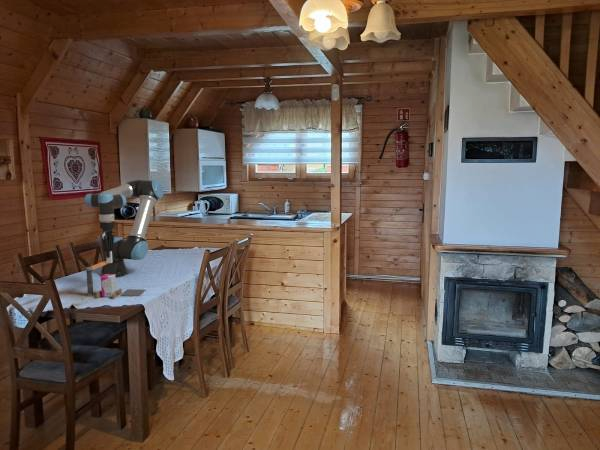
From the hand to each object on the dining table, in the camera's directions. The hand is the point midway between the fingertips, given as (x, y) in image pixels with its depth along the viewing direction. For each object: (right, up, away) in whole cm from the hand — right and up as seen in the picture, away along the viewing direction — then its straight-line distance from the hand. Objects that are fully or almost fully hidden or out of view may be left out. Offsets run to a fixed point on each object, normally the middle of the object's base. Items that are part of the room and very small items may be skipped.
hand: (109, 262), depth 252 cm
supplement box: (+4, -17, -10) cm, 21 cm away
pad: (+15, -16, -6) cm, 23 cm away
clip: (-4, -2, -6) cm, 8 cm away
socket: (+1, -17, -10) cm, 20 cm away
